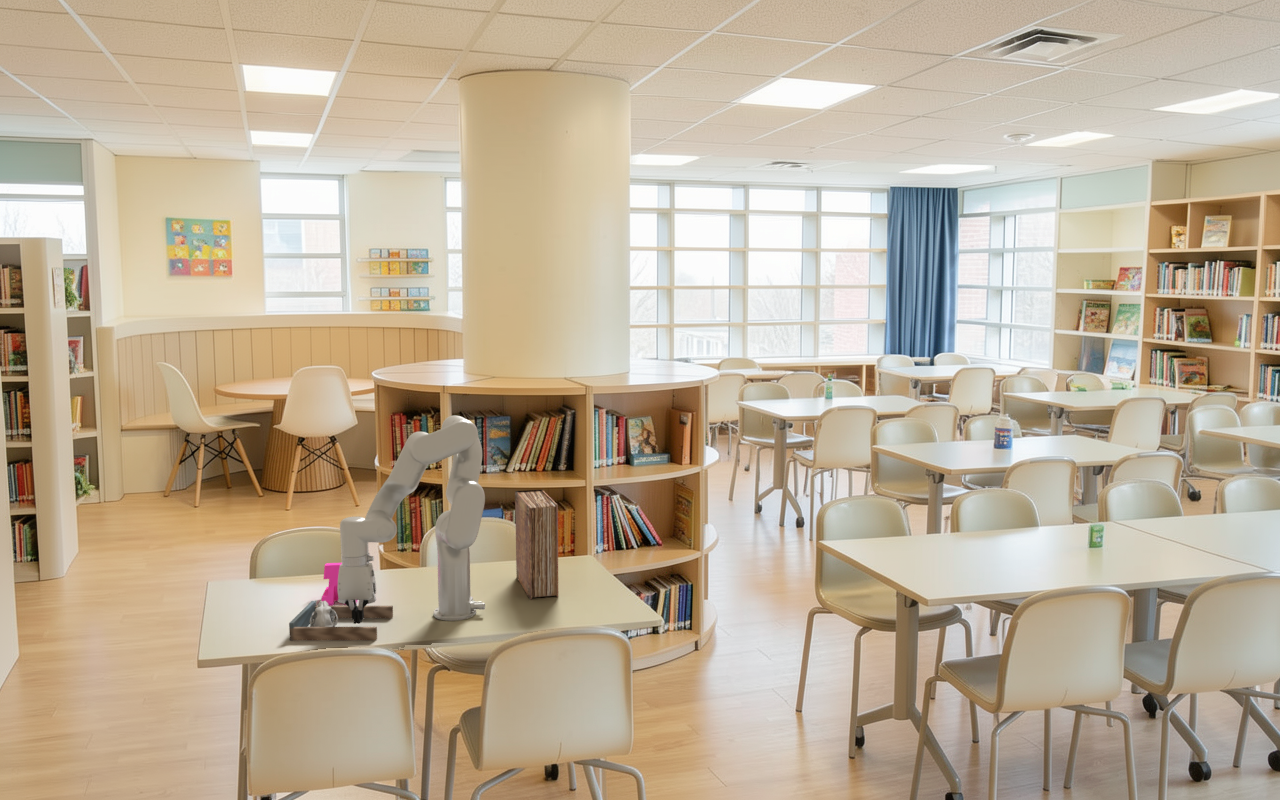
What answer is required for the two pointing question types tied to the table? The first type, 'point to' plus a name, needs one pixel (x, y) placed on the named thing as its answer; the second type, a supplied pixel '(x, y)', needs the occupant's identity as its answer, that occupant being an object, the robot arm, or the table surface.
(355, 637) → the bay
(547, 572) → the book
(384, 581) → the table surface
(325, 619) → the skull
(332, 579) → the bracket
